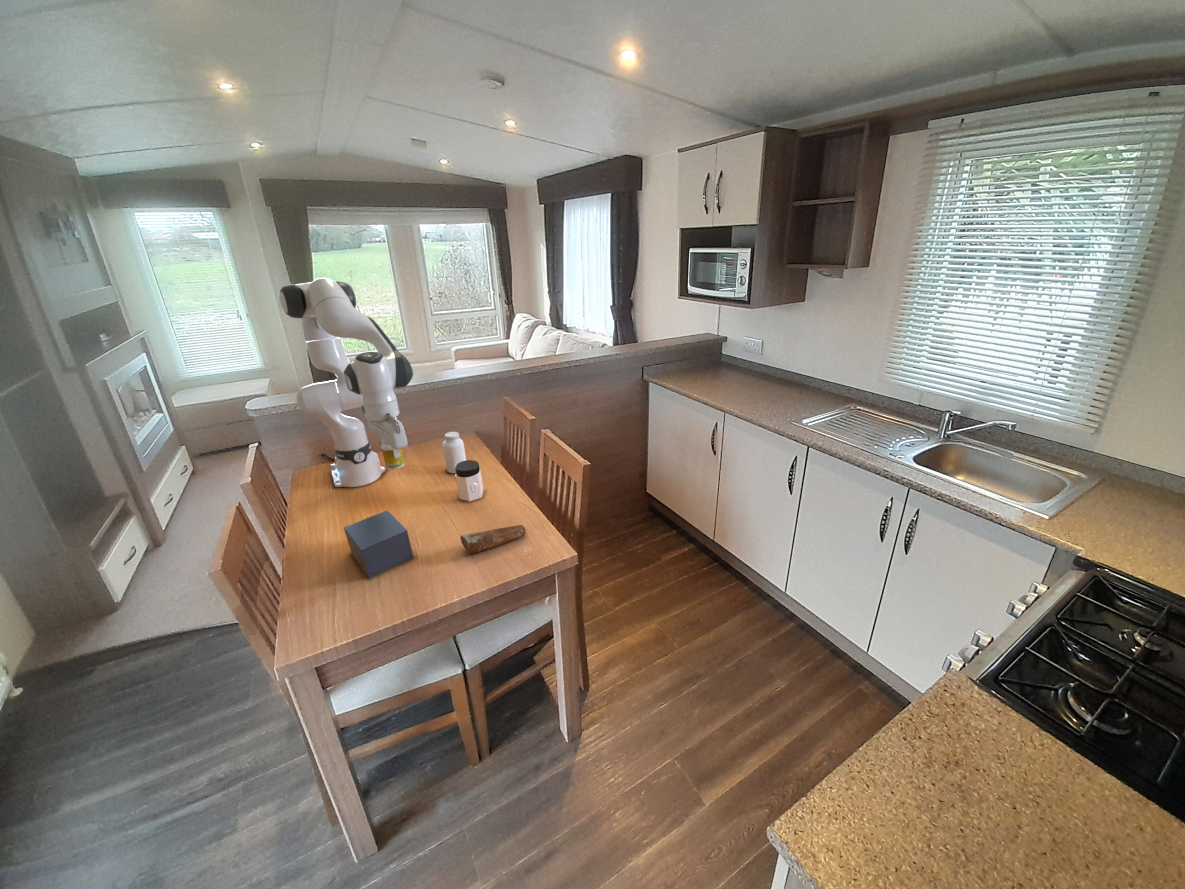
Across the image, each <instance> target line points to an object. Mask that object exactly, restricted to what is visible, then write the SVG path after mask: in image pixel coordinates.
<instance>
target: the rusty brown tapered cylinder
mask: <svg viewBox="0 0 1185 889" xmlns="http://www.w3.org/2000/svg"><path fill="white" fill-rule="evenodd" d="M526 533H527V530H526V528H525V527H524V525H522V524H518V525H513V526H506V527H499V528H494V529H489V530H481V531H477V532H471V533H466V534H462V535H460V542H461V544H462V545H463V548H464V549H465V550H466V552H467V554H471V555H472V554H475V553H479V552H483V551H486V550H489V549H492V548H494V547H498V546H500V545H501V546H502V545H504V544H506V543H509V542H512V541H515V540H517V539H520V538H523V537H524V536H525V535H526Z"/></svg>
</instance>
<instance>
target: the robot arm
mask: <svg viewBox="0 0 1185 889" xmlns="http://www.w3.org/2000/svg"><path fill="white" fill-rule="evenodd" d="M278 298H279V299H278V300H279V301H278V302H279V304H280V307H281V309H282V310H283V312H284V313H285V314H286V316H288V317H289V318H291V319H297V320H298V319H299V320H300V319H301V325H302V332H303V338H304V341H305V345H306V348H307V352H308V355H309V359H310V362H311V364H312V365H313V366H314V367H315V368H316V369H318V370H321V371H324V372H328V373H332V374H334V375H335V376H336V379H334V380H333V379H332V380H328V381H321V382H315V383H311V384H308V385H306V386H302V387H300V389H299V390H298V391H297V394H296V404H297V407H298V408H299V409H300V411H302V412H303V413H304V414H306V415H308V416H311V417H313V418H316V419H317V420H318V421H320V422H321V423H323V424H324V425H325V426H326V428H327V429H328V430H329V433H330V435H331V438H332V440H333V444H334V454H335V457H334V458H333V457H332V456H328V455H327V454H326V453H324V452H323V453H321V457H323V456H324V457H325V458H327V459H328V460H332V461H334V463H333V464H330V468H331V471H330V472H331V476H332V481H333V485H334V487H335V488H343V487H344V488H356V487H363V486H366V485H369V484H372V483H374V482H376V481H377V480H378V479H379V478H381V476H382V475H383V473H385V472H386V471H387V468H386V466H383V465H381V462H380V459H379V456H378V454H377V452H375V451H373V450H372V445H371V442H370V440H368V436H367V435H368V434H367V432H366V428H365V424H364V423H363V421H362V420H360V419H358V418H356V417H352V416H347V415H344V414H343V413H342V412H343V411H348V410H353V409H358V408H360V409H361V412H362V413H363V414H364V416H365V420H366V422H367V426H368V428H369V430H370V432H371V433H372V434H373V435H375V436H376V437H378V439H379V440H380V442H381V445H382V444H383V442H382V439H383V440H384V441H385V442H386V443H387V444H389V445H390V446H391V447H392V450H393V452H392V454H393V457H394V458H399V457H400V456H401V455H400V449H402V450H403V449H405V448H407V447H408V444H409V442H408V438H407V435H406V431H405V428H404V424H403V423H402V422H401V421H400V420H399V419H397V417H398V416H399V415H400V408H399V403H398V398H397V395H396V393H395V392H394V389H400V388H406V387H407V386H408V385H409V383H410V382H411V381H412V380H413V377H414V371H413V367H412V365H411V363H410V361H409V359H407V357H406V356H405V355H403V354H402V353H401V352H400V350H398V347H396V346H395V345H394V343H393V342H392V341H391V339H390V338H389V337H388V336H387V334H386V333H385V331H384V330H383V329H382V328H381V327H380V326H379V324H378V323H377V322H376V321H375V320H374V318H372V317H370V316H369V315H368V316H367V315H365V314H363V313H362V312H360V311H359V310H358V309H356V307H357V297H356V294H355V292H354V289H353V288H352V286H351V285H350V284H349V283H347V282H344V281H339V280H337V281H336V280H334V279H332V278H329V277H319V278H316V279H314V280H312V281H311V282H303V283H296V284H294V283H290V284H286V285H283V286H282V287H281V288H280V290H279V296H278ZM343 339H348V340H358V341H362V342H363V341H364V342H367V343H370V344H371V345H372V346H373V347H374V348H375V350H376V351H365V352H362V353H360V354H357V355H356V356H355V358H354V361H352V362H350V359H349V358H348V354H347V352H346V349H345V347H344V346H345V345H344V343H343Z"/></svg>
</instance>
